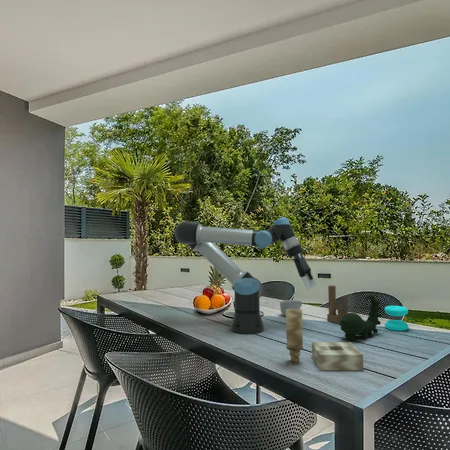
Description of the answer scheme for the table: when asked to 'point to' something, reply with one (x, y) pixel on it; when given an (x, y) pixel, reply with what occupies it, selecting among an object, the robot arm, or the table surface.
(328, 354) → the birch socket block
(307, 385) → the table surface
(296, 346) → the oak peg
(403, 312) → the cyan spool
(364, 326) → the toy figurine
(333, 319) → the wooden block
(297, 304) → the teacup
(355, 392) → the table surface
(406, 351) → the table surface
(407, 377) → the table surface
